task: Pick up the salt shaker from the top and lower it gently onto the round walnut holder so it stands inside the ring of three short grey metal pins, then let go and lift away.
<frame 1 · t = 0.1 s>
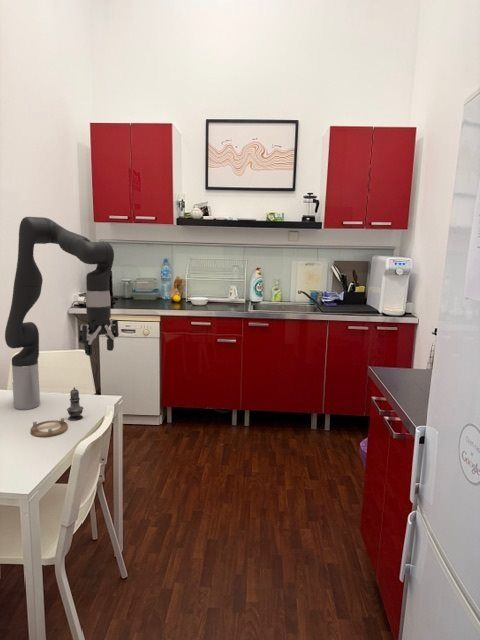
hand: (99, 352, 149), 29 cm above the table, tool pointing down, fingers open, 8 cm apart
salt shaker: (75, 418, 169), on the table
pin holder: (49, 429, 158), on the table
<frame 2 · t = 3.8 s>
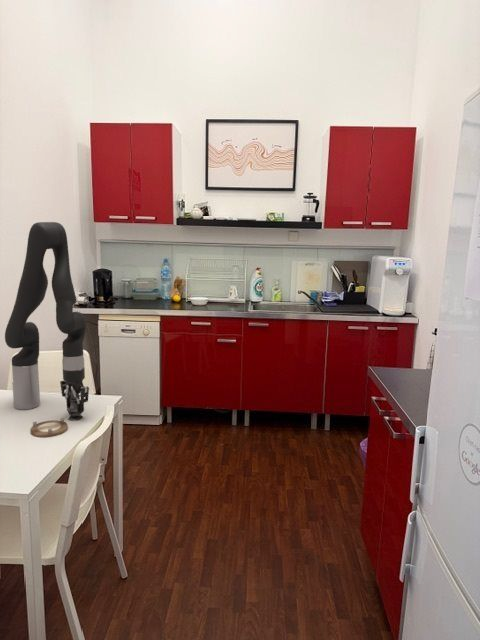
hand: (75, 410, 168), 3 cm above the table, tool pointing down, fingers closed on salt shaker, 6 cm apart
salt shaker: (75, 418, 169), on the table, touching gripper
when the fingers open (5 cm above the table, at t = 10.5 s): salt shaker stays where it is, resting on pin holder.
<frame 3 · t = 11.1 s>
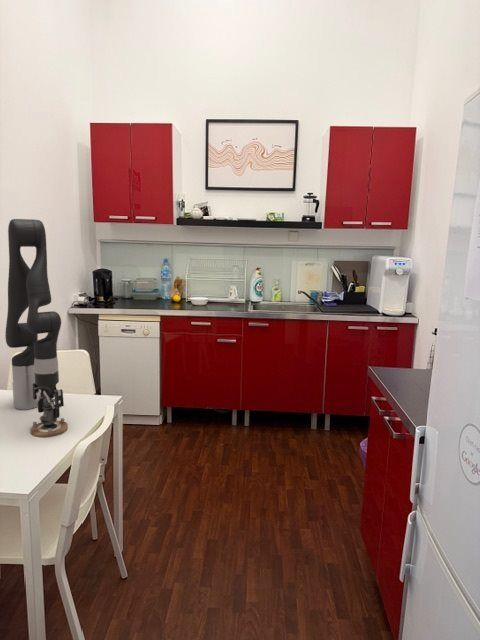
hand: (48, 415, 157), 6 cm above the table, tool pointing down, fingers open, 8 cm apart
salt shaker: (49, 427, 157), point 1 cm above the table, touching pin holder
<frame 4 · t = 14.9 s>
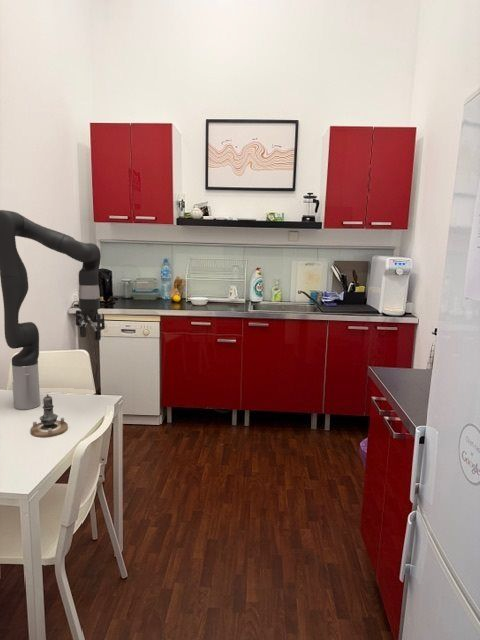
hand: (90, 338, 173), 28 cm above the table, tool pointing down, fingers open, 8 cm apart
nothing on the table moved.
at the end: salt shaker 0.1 cm off-centre on the pin holder, point 0.9 cm above the pin holder's base; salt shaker tilted 0°; the gripper is holding nothing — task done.
